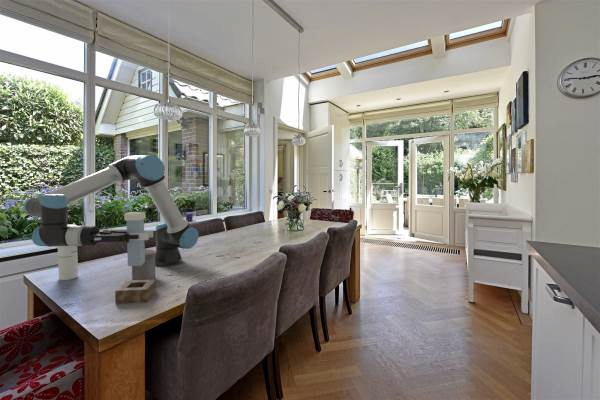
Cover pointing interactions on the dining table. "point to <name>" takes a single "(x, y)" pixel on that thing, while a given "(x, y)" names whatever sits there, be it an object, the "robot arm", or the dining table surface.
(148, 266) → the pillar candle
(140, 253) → the plug
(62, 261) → the cylindrical container
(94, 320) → the dining table surface
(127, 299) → the socket block
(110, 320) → the dining table surface
